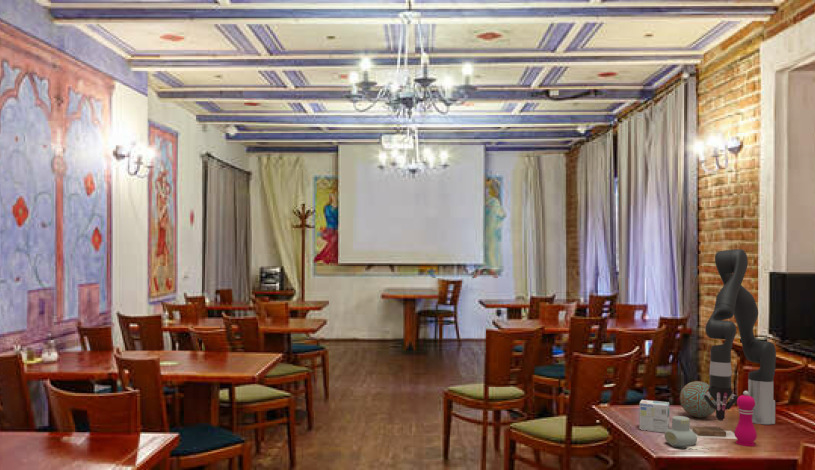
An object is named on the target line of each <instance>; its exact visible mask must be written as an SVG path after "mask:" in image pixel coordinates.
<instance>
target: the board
mask: <svg viewBox="0 0 815 470" xmlns="http://www.w3.org/2000/svg"><path fill="white" fill-rule="evenodd" d="M690 430H691V431H692V429H691V428H690ZM724 431H725V432H726V436H703V435H697V434H696V433H695V432H694V431H693V432H694V433H695V435H696V436H697V439H698V438H699V439H700V438H701V439H725V440H726V439H727V440H738V439H737V438H736V437H735V432H733V431H732V430H724Z"/></svg>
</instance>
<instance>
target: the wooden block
mask: <svg viewBox="0 0 815 470" xmlns="http://www.w3.org/2000/svg"><path fill="white" fill-rule="evenodd" d="M692 431H694V432H695V433H696V434H697V435H703V436H726V432H725V431H726V430H724V429H723V428H722V427H717V426H698V425H697V426H694V425H693V426H692Z"/></svg>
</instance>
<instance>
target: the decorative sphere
mask: <svg viewBox="0 0 815 470" xmlns="http://www.w3.org/2000/svg"><path fill="white" fill-rule="evenodd" d="M709 387H710V383H707V382H704V381H700V380H694V381H690V382H688V383H687V384H685V385H684V386H683V387H682V388H681V391H680V392H679V402H680V405H681V407H682V409H683V410H684V412H685V413H687V414H688V415H690V416H691V417H695V418H699V419H700V418H708V417H710V416H711V415H712V414H714V413H715V412H716V409H713V408H712V407H711V406H710V405H709V404H708V403H707V401H706V400H705V399H704V397H703V396H702V395H703V394H706V393H707V392H708V389H709ZM710 400H711V401H712V403H713V404H714V405H715V402H714V399H713V398H712V396H711V395H710Z"/></svg>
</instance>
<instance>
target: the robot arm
mask: <svg viewBox="0 0 815 470" xmlns="http://www.w3.org/2000/svg"><path fill="white" fill-rule="evenodd" d="M714 261H715V262H714V263H715V266H716V270H717V272H718V275H719V277H720V279H721V281H722V284H723V286H722V287H721V288H720V290H719V291H718V293H717V294H716V298H715V303H714V309H713V311H712V313H711V315H710V317H709V319H708V321H707V322H706V324H705V330H704V331H705V334H706V336H707V337H708V338H710V339H714V340H724V342H723V343H722V344H716V345H715V344H714V345H711V347H710V364H709V385H710V387H709V389H708V392H707V393H706V394H703V395H702V396H703V397H704V399H705V400H706V401H707V403H708V404H709V405H710V406H711V407H712V408H713V409H716V410H715V418H716V420H717V421H721V422H722V421H724V419H725V418H726V417H725V416H726V414H725V413H726V411H727V410H731V408H732V407H733V406H734V404H735V403H737V398H738V397H739V396H737V394H734V393H733V390H732V374H733V371H732V348H733V343H734V340H735V337H736V334H737V328H738V331H739V336H740V341H741V347H742V350H743V351H742V352H743V354H744V357H745V359H746V360H747V361H749V362H751V363H756V364H759V365H760V366H759V368H758V369H755V370H751V371H749V372H748V377H747V378H748V381H747V383H748V385H747V387H748V390H747V391H748V393H749V395H748V396H751V397H752V398H753V399H754V400H755V406H754V408H753V410H754V411H753V414H752V422H753V424H756V425H757V424H759V425H775V424H776V400H775V399H774V377H775V373H776V362H777V351H776V346H775V344H774V343H773V342H771V341H767V340H759V339H756V337H755V334H754V326H755V324H756V322H757V320H758V317H759V310H758V305H757V303H756V299H755V298H754V296H753V294H752V293H751V292H749V290H748V289H746V288H745V287H744V286H742V283H743V280H744V278H745V275H746V272H747V269H748V265H749V260H748V255H747V253H746V252H745V250H744V249H740V248H738V249H726V250H719V251H717V252H716V253H715V255H714ZM733 317H734V318H735V319H734V320H735V321H736V324H735V323H734V322H733V321H732V320H730V319H731V318H733ZM736 325H737V326H736ZM710 395H711V396H712V398H713V399H714V402H715V405H714V404H713V403H712V401H711V400H710ZM728 399H729V400H728Z"/></svg>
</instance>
